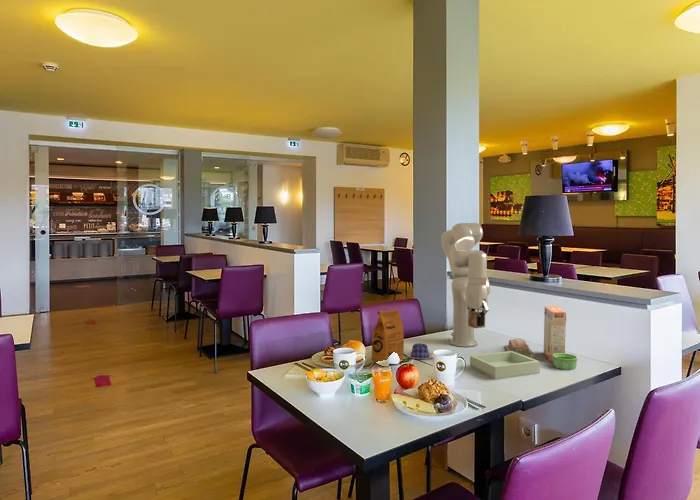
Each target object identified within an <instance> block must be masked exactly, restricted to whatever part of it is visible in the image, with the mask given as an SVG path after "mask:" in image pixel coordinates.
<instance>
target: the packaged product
mask: <svg viewBox="0 0 700 500" xmlns="http://www.w3.org/2000/svg"><path fill="white" fill-rule="evenodd" d="M505 348H506V351H513V352H516V353H519V354H521V355H524V356H527V357H529V358H532V359H534V353H533V352H532V349H531V348H530V345H529V344H527V342H526V341H525V339H523V338H520V337H519V338H513V339H510V340H508V344H505Z"/></svg>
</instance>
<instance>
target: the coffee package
mask: <svg viewBox="0 0 700 500" xmlns="http://www.w3.org/2000/svg"><path fill="white" fill-rule="evenodd" d="M377 314H378V316H379V317H378V318H377V321H376V324H375V326H374V328H373V331H372V335H371V361H372V364H374V363H376V362H378V361H383V360H387V359H388V357H389V356H390V355H391V354H392V353H393V352H395V353H397V354H398V356H399V358H400V360H403V359H404V348H405V346H404V345H405V338H404V336H405V334H404V325H403V321H402V317H401V315H400V311H399V310H398V307H395V308H393V309H391V310H378V311H377ZM403 361H404V360H403Z"/></svg>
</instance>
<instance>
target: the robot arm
mask: <svg viewBox="0 0 700 500" xmlns="http://www.w3.org/2000/svg"><path fill="white" fill-rule="evenodd" d="M483 236H484V231H483V227H482V226H481V224H479V223H478V222H461V223H455V224H454V225H453V226H452V228H451V229H449V230H446V231H444V232H443V233H441V236H440V237H441V238H440V239H441V240H440V242H441V243H440V244H441V247H442V250H443V253H444V254H445V256H446V258H447V260H448V264H449V268H450V269H449V270H450V272H451V276H452V278H453V280H451V292H452V301H453V303H452V304H453V306H452V307H453V310H452V311H453V313H452V315H453V316H452V317H453V319H452V321H453V328H452V329H453V332H450V335H451V337H452V338H451V339H450V340H449V343H450V345H452V346H456V347H463V348H465V347H467V348H468V347H475V346H477V345H478V341H477V340H476V339H475V328H473V327H470V326H468V312H472V311H478V316H477V326H484V316H485V317H486V314H487V313H488V312H489V307H488V304H489V301H488V299H489V297H488V296H489V295H490V293H491V285H490V281H489V277H488V274H487V273H488V271H487V267H488V266H487V265H488V264H487V263H488V261H487V259H488V257H487V253H486V252H485V251H483V250H480V249H479V250H476V249H475V250H472V249H473V248H474V247H476V245H477V244H478V243H479V242H480V241H481V240H482V238H483ZM480 312H481V313H480Z"/></svg>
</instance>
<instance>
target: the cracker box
mask: <svg viewBox="0 0 700 500" xmlns="http://www.w3.org/2000/svg"><path fill="white" fill-rule="evenodd" d="M543 313H544V314H543V315H544V319H543V322H544V323H543V327H544V328H543V354H544V356H545V357H546V358H547V360H548V361H549V362H551V363H553V354H555V353H566V327H567V325H566V324H567V311H565V310H563V309H562V308H561V307H559V306H552V305H551V306H544V311H543Z"/></svg>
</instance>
